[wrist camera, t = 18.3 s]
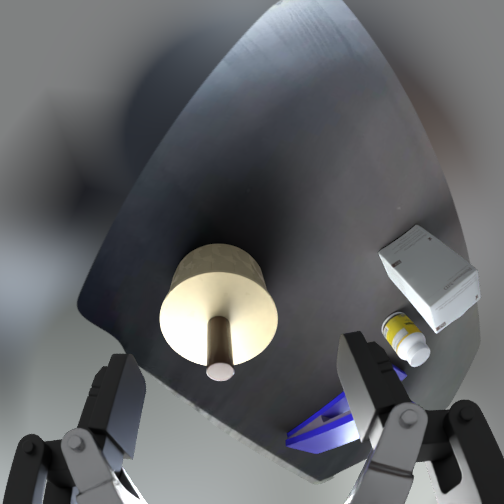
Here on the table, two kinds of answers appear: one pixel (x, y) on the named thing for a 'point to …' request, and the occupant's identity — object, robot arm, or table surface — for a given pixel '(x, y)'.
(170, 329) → the lid
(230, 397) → the table surface
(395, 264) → the cosmetic box
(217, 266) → the pot
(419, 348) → the supplement bottle
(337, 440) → the stapler
